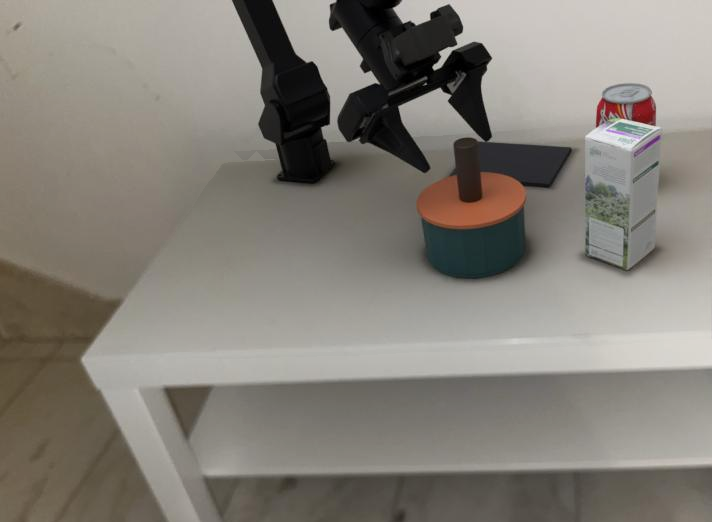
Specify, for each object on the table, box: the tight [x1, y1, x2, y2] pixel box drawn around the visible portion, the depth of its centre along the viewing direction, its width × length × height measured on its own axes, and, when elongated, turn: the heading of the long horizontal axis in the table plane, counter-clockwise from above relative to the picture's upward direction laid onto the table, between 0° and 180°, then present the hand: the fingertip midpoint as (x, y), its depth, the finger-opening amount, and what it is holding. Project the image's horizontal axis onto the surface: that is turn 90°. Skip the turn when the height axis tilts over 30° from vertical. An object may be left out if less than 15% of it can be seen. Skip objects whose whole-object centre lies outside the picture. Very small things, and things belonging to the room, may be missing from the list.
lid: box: [416, 136, 527, 229], centre depth 83 cm, size 12×12×8 cm
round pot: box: [420, 205, 527, 279], centre depth 87 cm, size 11×11×6 cm
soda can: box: [595, 82, 657, 128], centre depth 94 cm, size 7×7×12 cm
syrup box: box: [584, 117, 663, 271], centre depth 81 cm, size 6×6×14 cm
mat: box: [449, 140, 572, 188], centre depth 106 cm, size 14×11×1 cm
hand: (459, 154), depth 83 cm, fingers open, 9 cm apart
